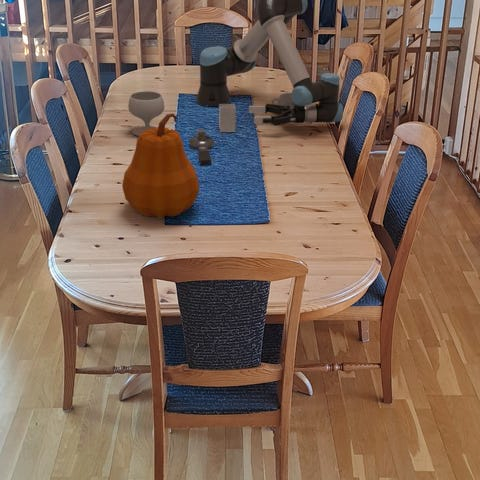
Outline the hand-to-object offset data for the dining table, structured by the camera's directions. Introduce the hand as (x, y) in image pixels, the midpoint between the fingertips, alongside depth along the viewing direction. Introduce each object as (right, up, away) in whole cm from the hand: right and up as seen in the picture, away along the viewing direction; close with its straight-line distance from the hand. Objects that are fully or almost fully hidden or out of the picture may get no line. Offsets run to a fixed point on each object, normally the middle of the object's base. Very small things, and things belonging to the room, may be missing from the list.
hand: (251, 114), depth 300 cm
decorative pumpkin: (-29, -40, -64) cm, 81 cm away
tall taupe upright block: (-10, -6, +2) cm, 12 cm away
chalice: (-41, -8, -2) cm, 42 cm away
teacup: (+15, +3, +21) cm, 26 cm away
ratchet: (-18, -18, -21) cm, 33 cm away
